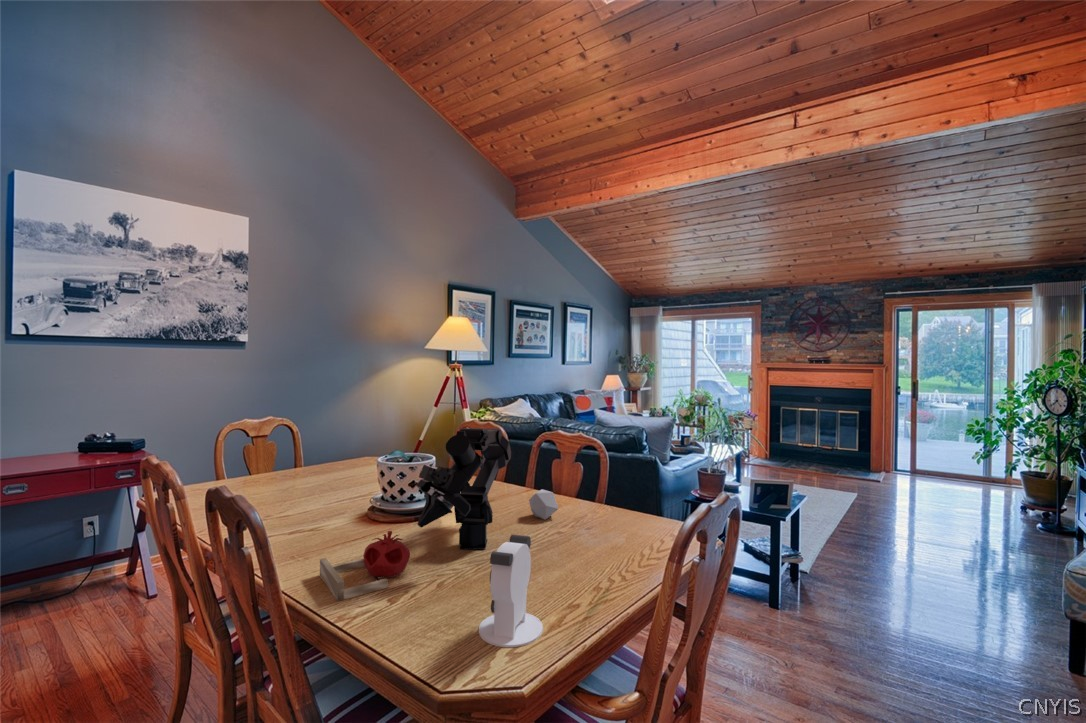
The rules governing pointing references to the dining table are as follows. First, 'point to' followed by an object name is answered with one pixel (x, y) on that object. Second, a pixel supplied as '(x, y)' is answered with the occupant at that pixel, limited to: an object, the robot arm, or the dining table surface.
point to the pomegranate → (386, 557)
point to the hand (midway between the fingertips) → (419, 526)
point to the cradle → (337, 583)
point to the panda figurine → (510, 597)
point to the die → (543, 504)
